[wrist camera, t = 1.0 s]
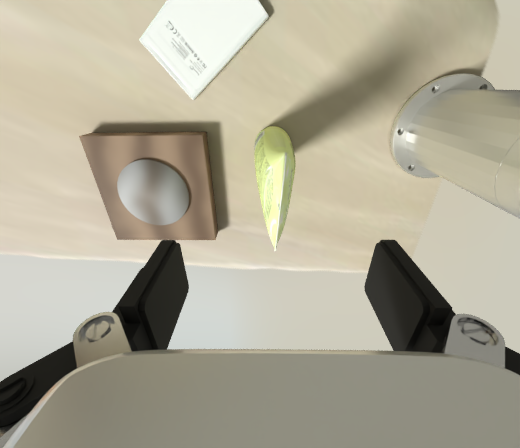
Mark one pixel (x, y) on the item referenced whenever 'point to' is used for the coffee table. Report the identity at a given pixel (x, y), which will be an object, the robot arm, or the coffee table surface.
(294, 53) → the coffee table surface
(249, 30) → the external hard drive
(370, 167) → the coffee table surface
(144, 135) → the walnut base
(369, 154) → the coffee table surface
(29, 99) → the coffee table surface
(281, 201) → the tube
